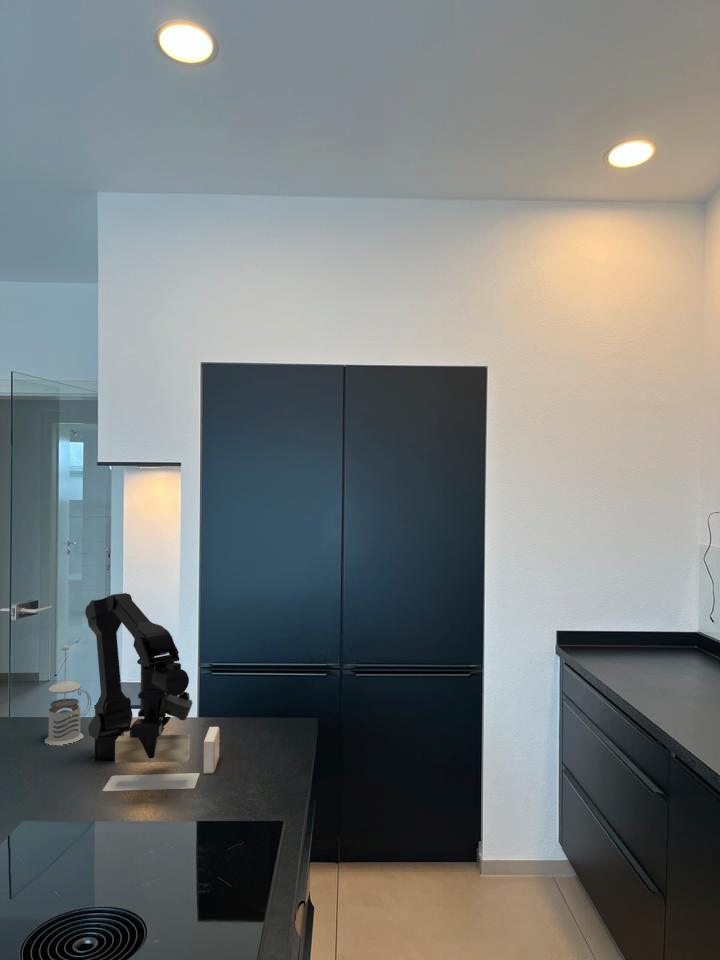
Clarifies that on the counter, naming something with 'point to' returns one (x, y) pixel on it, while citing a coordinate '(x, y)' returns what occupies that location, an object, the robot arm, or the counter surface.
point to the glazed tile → (211, 750)
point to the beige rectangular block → (166, 749)
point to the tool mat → (151, 782)
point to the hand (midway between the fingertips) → (152, 755)
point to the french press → (65, 713)
